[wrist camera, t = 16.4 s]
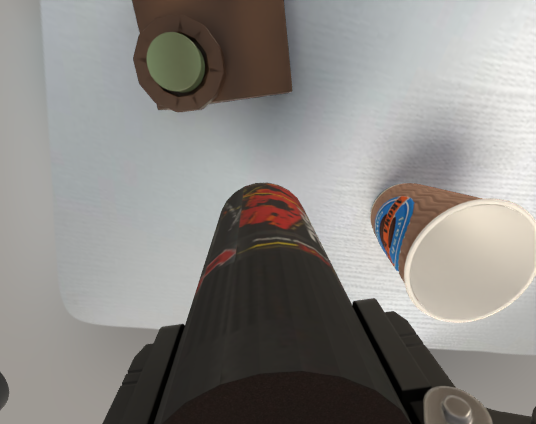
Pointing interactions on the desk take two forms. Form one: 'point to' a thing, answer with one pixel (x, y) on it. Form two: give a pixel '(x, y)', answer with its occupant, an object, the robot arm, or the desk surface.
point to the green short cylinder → (175, 62)
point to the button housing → (218, 49)
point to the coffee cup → (456, 249)
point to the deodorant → (274, 329)
